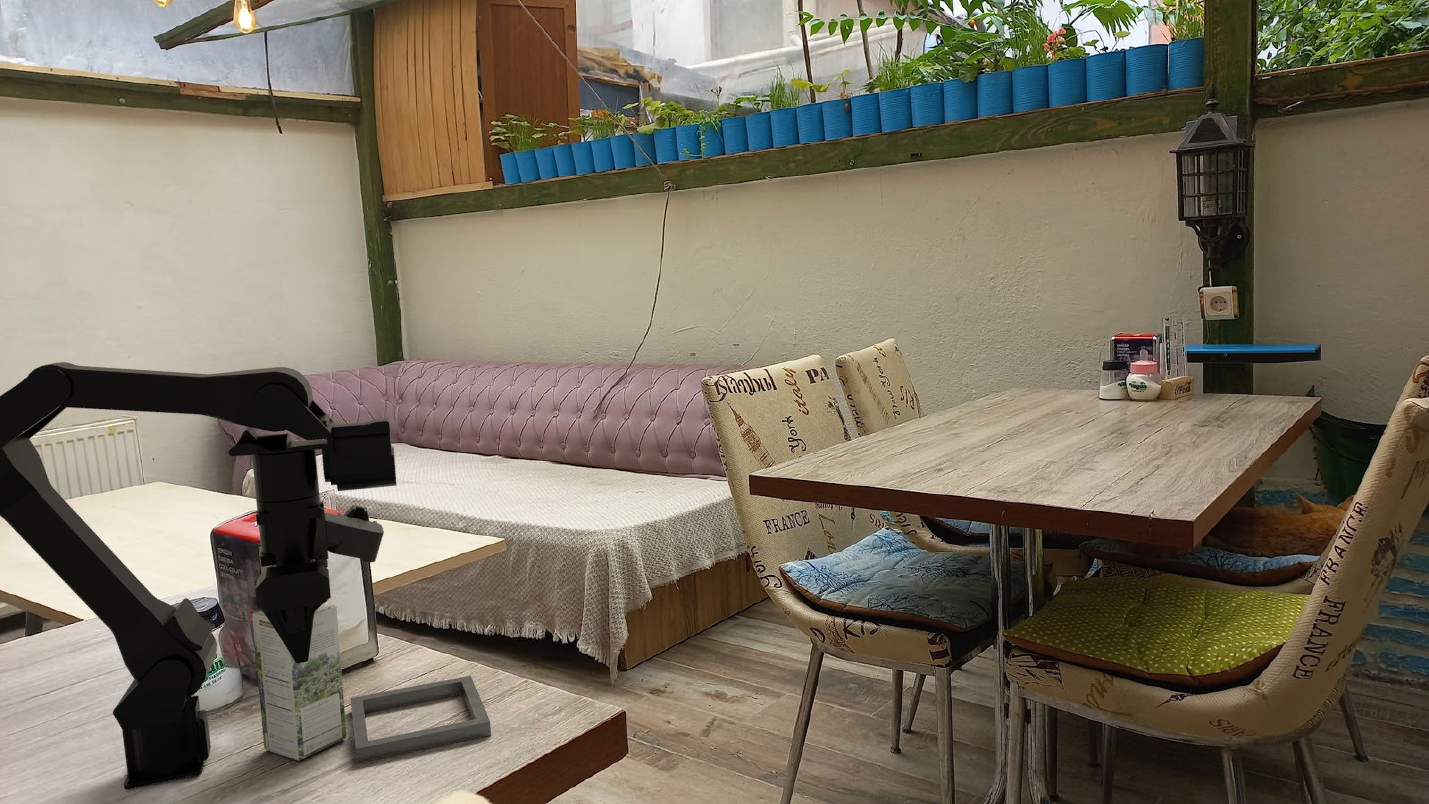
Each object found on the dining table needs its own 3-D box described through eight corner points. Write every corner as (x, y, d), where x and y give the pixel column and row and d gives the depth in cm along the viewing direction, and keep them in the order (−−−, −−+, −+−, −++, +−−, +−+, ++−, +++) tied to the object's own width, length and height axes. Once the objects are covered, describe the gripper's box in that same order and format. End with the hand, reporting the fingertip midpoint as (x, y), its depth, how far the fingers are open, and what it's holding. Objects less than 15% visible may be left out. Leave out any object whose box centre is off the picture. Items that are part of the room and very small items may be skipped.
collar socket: (356, 763, 94) (355, 749, 94) (351, 711, 106) (350, 698, 106) (491, 735, 99) (490, 721, 99) (471, 688, 111) (470, 675, 111)
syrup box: (313, 727, 102) (300, 594, 100) (349, 739, 99) (337, 601, 97) (263, 750, 97) (249, 610, 96) (300, 763, 94) (286, 619, 92)
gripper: (380, 504, 90) (394, 666, 92) (369, 471, 107) (380, 608, 109) (247, 520, 85) (264, 689, 87) (258, 482, 103) (272, 624, 104)
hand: (302, 648), depth 97 cm, fingers closed on syrup box, 7 cm apart
